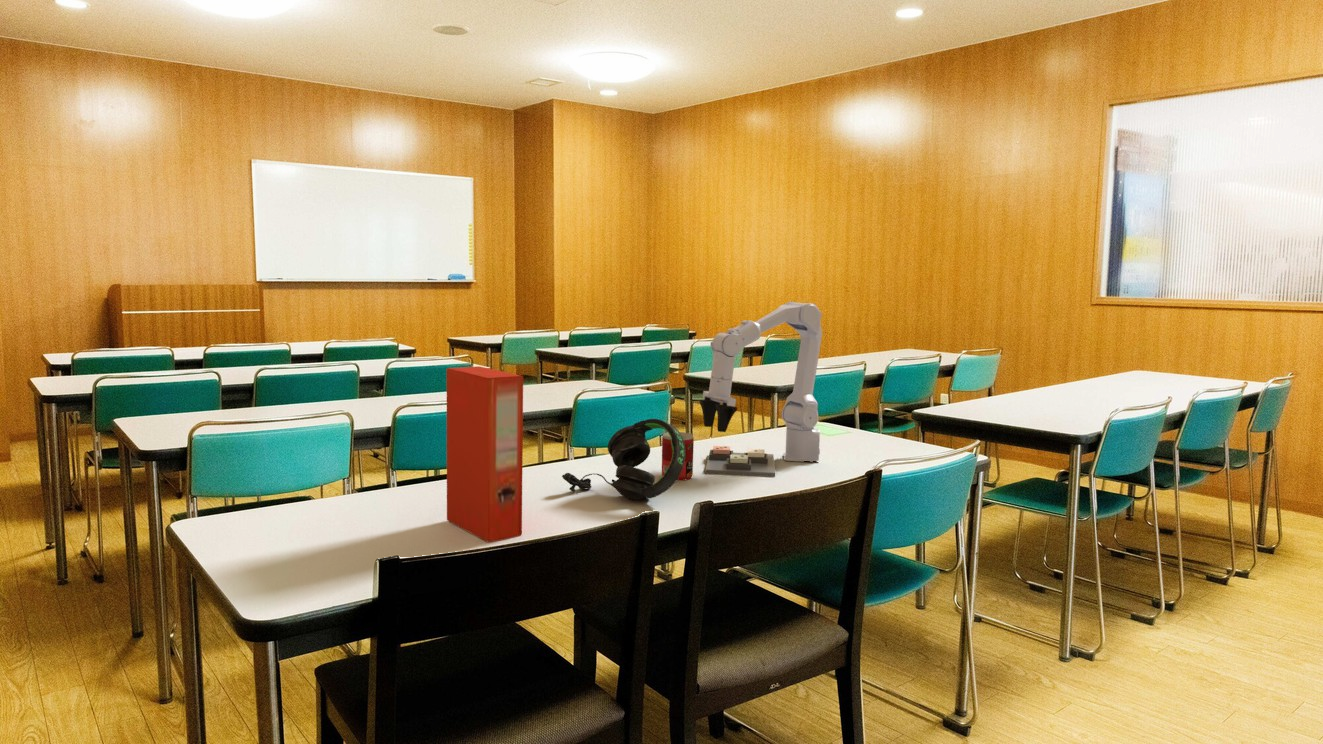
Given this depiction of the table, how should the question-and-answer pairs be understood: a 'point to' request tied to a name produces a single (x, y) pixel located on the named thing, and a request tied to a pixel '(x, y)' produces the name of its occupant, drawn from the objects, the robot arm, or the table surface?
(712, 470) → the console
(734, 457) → the key two
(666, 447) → the canned food
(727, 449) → the key three
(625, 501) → the table surface
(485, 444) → the file binder
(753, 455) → the key one
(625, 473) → the headset
